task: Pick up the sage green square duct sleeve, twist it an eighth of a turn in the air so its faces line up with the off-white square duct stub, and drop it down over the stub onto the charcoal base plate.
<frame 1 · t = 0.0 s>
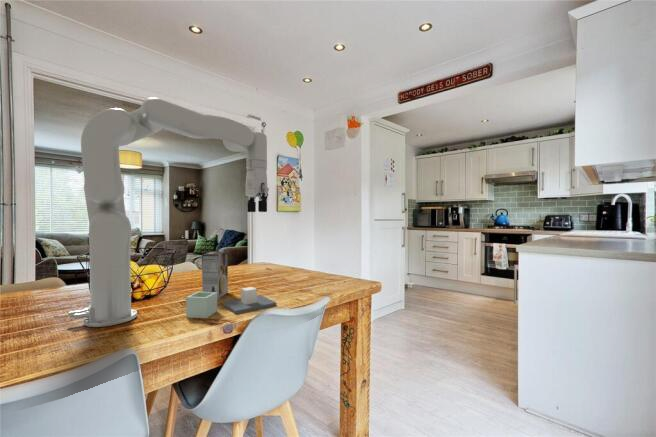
hand: (256, 211, 115), 31 cm above the table, tool pointing down, fingers open, 9 cm apart
coffee box: (215, 296, 113), on the table
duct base: (249, 305, 101), on the table
square sleeve: (202, 314, 92), on the table
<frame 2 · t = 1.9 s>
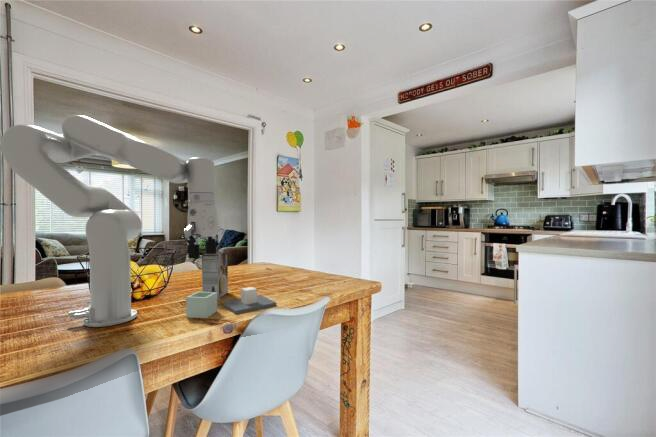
hand: (203, 255, 92), 18 cm above the table, tool pointing down, fingers open, 9 cm apart
nothing on the table moved.
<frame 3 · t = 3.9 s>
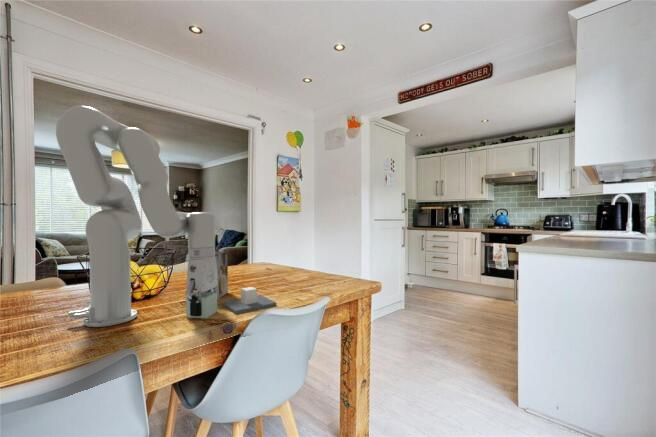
hand: (202, 311, 92), 1 cm above the table, tool pointing down, fingers closed on square sleeve, 6 cm apart
square sleeve: (202, 314, 92), on the table, touching gripper
everything else where it was.
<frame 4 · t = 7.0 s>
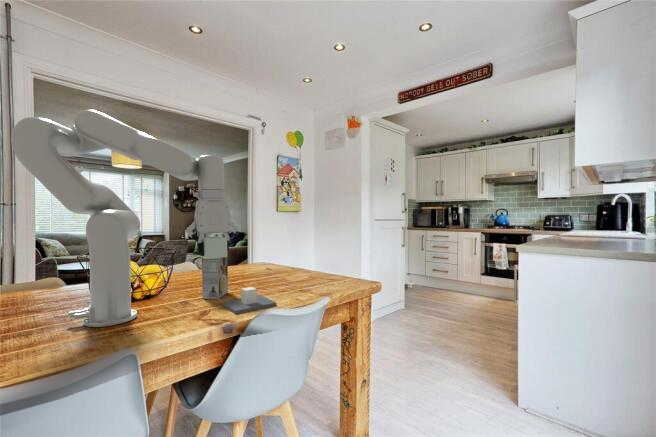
hand: (213, 253, 94), 18 cm above the table, tool pointing down, fingers closed on square sleeve, 6 cm apart
square sleeve: (213, 256, 94), point 17 cm above the table, touching gripper
everything else where it was.
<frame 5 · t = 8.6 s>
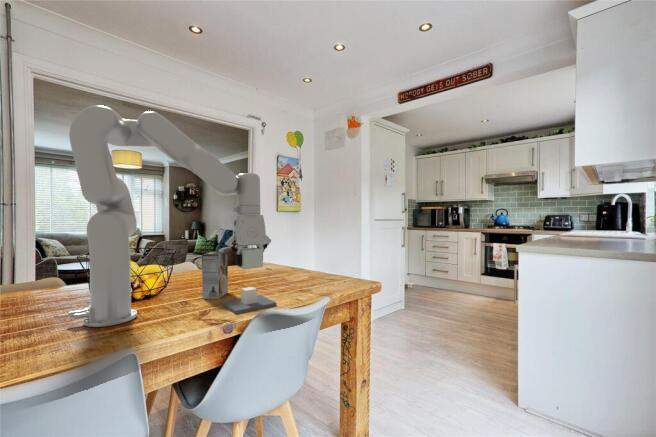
hand: (249, 264, 101), 14 cm above the table, tool pointing down, fingers closed on square sleeve, 6 cm apart
square sleeve: (249, 266, 101), point 13 cm above the table, touching gripper
everything else where it was.
when the fingers open (7 cm above the table, at t = 10.1 s): square sleeve drops 6 cm, resting on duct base.
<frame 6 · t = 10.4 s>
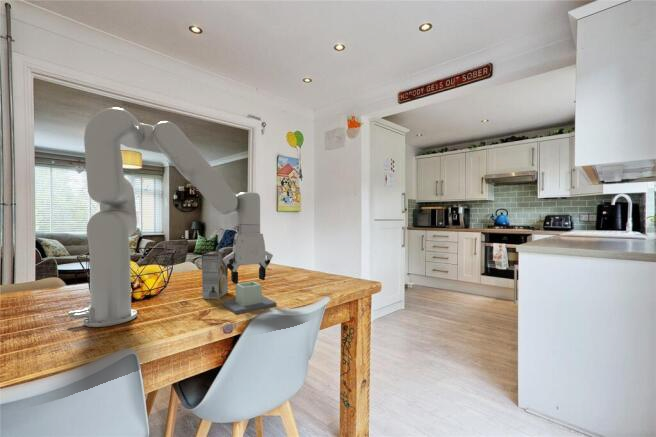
hand: (248, 281, 101), 8 cm above the table, tool pointing down, fingers open, 9 cm apart
square sleeve: (248, 302, 101), point 1 cm above the table, touching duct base
everything else where it was.
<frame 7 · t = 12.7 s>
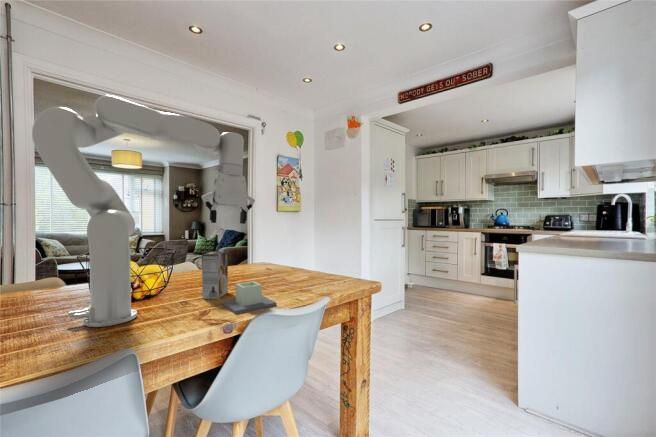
hand: (228, 223, 100), 27 cm above the table, tool pointing down, fingers open, 9 cm apart
nothing on the table moved.
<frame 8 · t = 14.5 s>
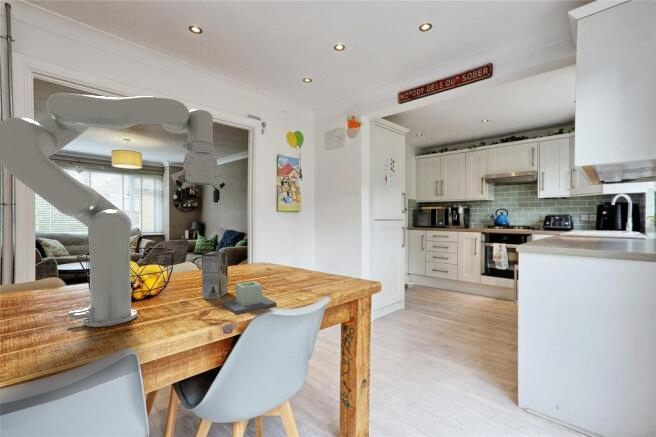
hand: (200, 202, 99), 34 cm above the table, tool pointing down, fingers open, 9 cm apart
nothing on the table moved.
at the end: square sleeve 0.1 cm off-centre on the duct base, point 1.0 cm above the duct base's base; square sleeve tilted 0°; the gripper is holding nothing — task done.
